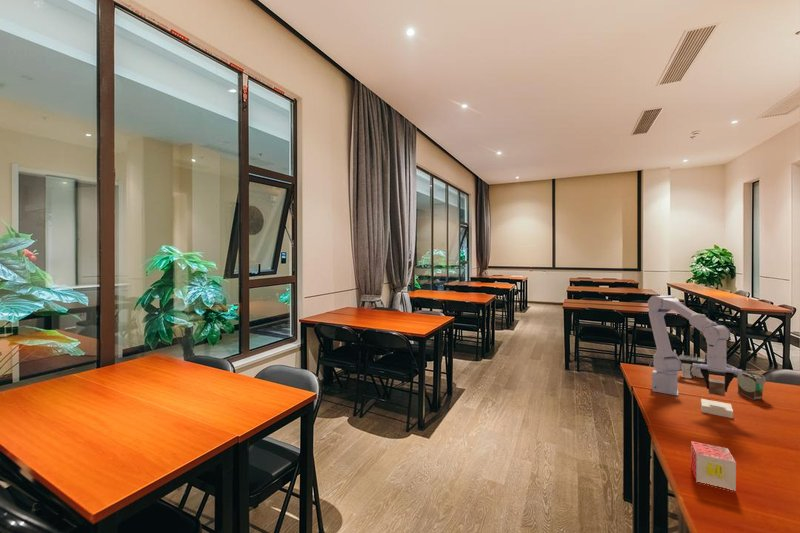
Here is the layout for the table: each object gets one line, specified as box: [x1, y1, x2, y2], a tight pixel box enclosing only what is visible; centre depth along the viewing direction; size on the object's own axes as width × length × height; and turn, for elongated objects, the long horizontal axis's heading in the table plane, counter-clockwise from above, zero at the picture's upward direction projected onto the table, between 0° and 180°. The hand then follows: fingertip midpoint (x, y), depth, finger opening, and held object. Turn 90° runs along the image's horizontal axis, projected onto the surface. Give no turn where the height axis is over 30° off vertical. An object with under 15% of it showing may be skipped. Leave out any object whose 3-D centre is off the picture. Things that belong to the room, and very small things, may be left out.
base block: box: [700, 398, 734, 419], centre depth 139 cm, size 9×9×3 cm
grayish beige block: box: [708, 378, 726, 397], centre depth 140 cm, size 5×5×5 cm
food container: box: [736, 369, 767, 401], centre depth 154 cm, size 12×6×10 cm, turn 168°
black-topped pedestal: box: [678, 351, 707, 379], centre depth 179 cm, size 28×26×13 cm
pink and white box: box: [690, 440, 737, 492], centre depth 96 cm, size 8×8×8 cm
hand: (716, 389), depth 140 cm, fingers closed on grayish beige block, 5 cm apart
